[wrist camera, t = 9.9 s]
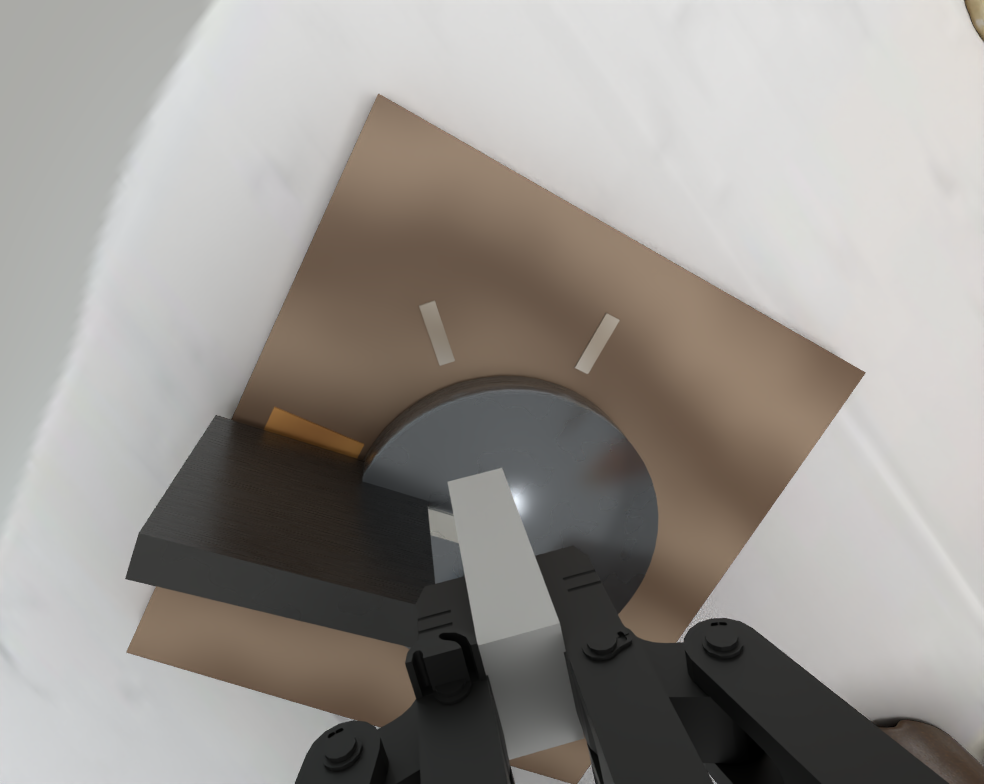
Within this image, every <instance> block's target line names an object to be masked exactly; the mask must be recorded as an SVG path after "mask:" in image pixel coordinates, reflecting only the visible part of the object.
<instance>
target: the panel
mask: <svg viewBox="0 0 984 784" xmlns="http://www.w3.org/2000/svg"><path fill="white" fill-rule="evenodd" d="M864 374H865V372H864V371H862V370H860V369H858V368H857V367H855V366H853V365H851V364H850V363H848V362H846V361H844V360H843V359H841V358H839V357H837V356H836V355H834V354H832V353H830V352H829V351H827V350H825V349H823V348H822V347H820V346H818V345H817V344H815V343H813V342H811V341H810V340H808V339H806V338H804V337H803V336H801V335H799V334H797V333H796V332H794V331H792V330H790V329H789V328H787V327H785V326H783V325H782V324H780V323H778V322H776V321H775V320H773V319H771V318H769V317H768V316H766V315H764V314H762V313H761V312H759V311H757V310H755V309H754V308H752V307H750V306H748V305H747V304H745V303H743V302H741V301H740V300H738V299H736V298H734V297H733V296H731V295H729V294H727V293H726V292H724V291H722V290H720V289H719V288H717V287H715V286H714V285H712V284H710V283H708V282H707V281H705V280H703V279H701V278H700V277H698V276H696V275H694V274H693V273H691V272H689V271H687V270H686V269H684V268H682V267H680V266H679V265H677V264H675V263H673V262H672V261H670V260H668V259H666V258H665V257H663V256H661V255H659V254H658V253H656V252H654V251H652V250H651V249H649V248H647V247H645V246H644V245H642V244H640V243H638V242H637V241H635V240H633V239H631V238H630V237H628V236H626V235H624V234H623V233H621V232H619V231H617V230H616V229H614V228H612V227H611V226H609V225H607V224H605V223H604V222H602V221H600V220H598V219H597V218H595V217H593V216H591V215H590V214H588V213H586V212H584V211H583V210H581V209H579V208H577V207H576V206H574V205H572V204H570V203H569V202H567V201H565V200H563V199H562V198H560V197H558V196H556V195H555V194H553V193H551V192H549V191H548V190H546V189H544V188H542V187H541V186H539V185H537V184H535V183H534V182H532V181H530V180H528V179H527V178H525V177H523V176H521V175H520V174H518V173H516V172H514V171H513V170H511V169H509V168H508V167H506V166H504V165H502V164H501V163H499V162H497V161H495V160H494V159H492V158H490V157H488V156H487V155H485V154H483V153H481V152H480V151H478V150H476V149H474V148H473V147H471V146H469V145H467V144H466V143H464V142H462V141H460V140H459V139H457V138H455V137H453V136H452V135H450V134H448V133H446V132H445V131H443V130H441V129H439V128H438V127H436V126H434V125H432V124H431V123H429V122H427V121H425V120H424V119H422V118H420V117H418V116H417V115H415V114H413V113H412V112H410V111H408V110H406V109H405V108H403V107H401V106H399V105H398V104H396V103H394V102H392V101H391V100H389V99H387V98H385V97H384V96H382V95H380V94H378V96H377V98H376V100H375V102H374V104H373V107H372V109H371V111H370V113H369V115H368V118H367V120H366V122H365V124H364V127H363V129H362V131H361V133H360V135H359V138H358V140H357V142H356V144H355V146H354V149H353V151H352V153H351V155H350V158H349V160H348V162H347V164H346V166H345V169H344V171H343V173H342V175H341V178H340V180H339V182H338V184H337V186H336V189H335V191H334V193H333V195H332V197H331V200H330V202H329V204H328V206H327V209H326V211H325V213H324V215H323V217H322V220H321V222H320V224H319V226H318V229H317V231H316V233H315V235H314V237H313V240H312V242H311V244H310V246H309V248H308V251H307V253H306V255H305V257H304V260H303V262H302V264H301V266H300V268H299V271H298V273H297V275H296V277H295V279H294V282H293V284H292V286H291V288H290V291H289V293H288V295H287V297H286V299H285V302H284V304H283V306H282V308H281V311H280V313H279V315H278V317H277V319H276V322H275V324H274V326H273V328H272V330H271V333H270V335H269V337H268V339H267V342H266V344H265V346H264V348H263V350H262V353H261V355H260V357H259V359H258V361H257V364H256V366H255V368H254V370H253V373H252V375H251V377H250V379H249V381H248V384H247V386H246V388H245V390H244V393H243V395H242V397H241V399H240V401H239V404H238V406H237V408H236V410H235V412H234V415H233V417H232V419H231V420H234V421H237V422H240V423H243V424H247V425H250V426H253V427H256V428H260V429H263V430H266V431H269V432H273V433H276V434H279V435H282V436H286V437H289V438H292V439H295V440H299V441H302V442H305V443H308V444H312V445H315V446H318V447H321V448H325V449H328V450H331V451H334V452H338V453H341V454H344V455H347V456H351V457H354V458H357V459H360V460H364V458H365V456H366V454H367V453H368V451H369V449H370V448H371V446H372V445H373V443H374V442H375V440H376V439H377V438H378V437H379V435H380V434H381V433H382V432H383V431H384V430H385V429H386V427H387V426H388V425H389V424H390V423H391V422H392V421H393V420H395V419H396V418H397V417H398V416H399V415H400V414H401V413H403V412H404V411H405V410H406V409H408V408H409V407H411V406H412V405H414V404H415V403H417V402H418V401H420V400H421V399H423V398H425V397H427V396H429V395H431V394H433V393H435V392H437V391H439V390H441V389H444V388H446V387H449V386H452V385H455V384H457V383H461V382H465V381H469V380H474V379H478V378H485V377H495V376H521V377H528V378H534V379H541V380H544V381H548V382H551V383H554V384H558V385H561V386H563V387H565V388H567V389H570V390H572V391H574V392H576V393H578V394H580V395H581V396H583V397H585V398H586V399H588V400H589V401H591V402H593V403H594V404H595V405H596V406H597V407H599V408H600V409H601V410H602V411H603V412H604V413H606V414H607V415H608V417H609V418H610V419H611V420H612V421H613V422H614V423H615V424H616V426H617V427H618V428H619V429H620V430H621V432H622V433H623V434H624V435H625V437H626V438H627V439H628V440H629V442H630V443H631V444H632V445H633V447H634V448H635V449H636V451H637V452H638V454H639V456H640V457H641V459H642V460H643V462H644V463H645V466H646V468H647V470H648V472H649V475H650V477H651V479H652V482H653V486H654V490H655V493H656V497H657V506H658V534H657V540H656V546H655V550H654V553H653V556H652V560H651V563H650V566H649V568H648V570H647V572H646V574H645V577H644V579H643V581H642V583H641V584H640V586H639V587H638V589H637V591H636V592H635V594H634V595H633V597H632V598H631V599H630V601H629V602H628V603H627V604H626V606H625V607H624V608H623V609H622V611H621V612H620V613H619V614H618V616H619V618H620V620H621V621H622V623H623V625H624V626H625V627H627V628H629V629H630V630H631V631H632V632H633V633H634V634H635V635H636V636H637V637H639V638H641V639H643V640H647V641H651V642H658V643H676V642H677V641H678V639H679V638H680V636H681V635H682V634H683V632H684V631H685V629H686V628H687V627H688V625H689V624H690V622H691V621H692V619H693V618H694V617H695V615H696V614H697V612H698V611H699V609H700V608H701V607H702V605H703V604H704V602H705V601H706V599H707V598H708V597H709V595H710V594H711V592H712V591H713V589H714V588H715V587H716V585H717V584H718V582H719V581H720V580H721V578H722V577H723V575H724V574H725V572H726V571H727V570H728V568H729V567H730V565H731V564H732V562H733V561H734V560H735V558H736V557H737V555H738V554H739V552H740V551H741V550H742V548H743V547H744V545H745V544H746V543H747V541H748V540H749V538H750V537H751V535H752V534H753V533H754V531H755V530H756V528H757V527H758V525H759V524H760V523H761V521H762V520H763V518H764V517H765V515H766V514H767V513H768V511H769V510H770V508H771V507H772V505H773V504H774V503H775V501H776V500H777V498H778V497H779V496H780V494H781V493H782V491H783V490H784V488H785V487H786V486H787V484H788V483H789V481H790V480H791V478H792V477H793V476H794V474H795V473H796V471H797V470H798V468H799V467H800V466H801V464H802V463H803V461H804V460H805V458H806V457H807V456H808V454H809V453H810V451H811V450H812V449H813V447H814V446H815V444H816V443H817V441H818V440H819V439H820V437H821V436H822V434H823V433H824V431H825V430H826V429H827V427H828V426H829V424H830V423H831V421H832V420H833V419H834V417H835V416H836V414H837V413H838V411H839V410H840V409H841V407H842V406H843V404H844V403H845V402H846V400H847V399H848V397H849V396H850V394H851V393H852V392H853V390H854V389H855V387H856V386H857V384H858V383H859V382H860V380H861V379H862V377H863V376H864ZM409 650H410V649H408V648H407V647H405V646H402V645H398V644H394V643H389V642H385V641H381V640H377V639H373V638H369V637H365V636H360V635H356V634H352V633H348V632H344V631H340V630H335V629H331V628H327V627H323V626H319V625H315V624H311V623H306V622H302V621H298V620H294V619H290V618H286V617H281V616H277V615H273V614H269V613H265V612H261V611H257V610H252V609H248V608H244V607H240V606H236V605H232V604H227V603H223V602H219V601H215V600H211V599H207V598H203V597H198V596H194V595H190V594H186V593H182V592H178V591H173V590H169V589H165V588H161V587H157V586H156V588H155V590H154V592H153V594H152V596H151V599H150V601H149V603H148V605H147V608H146V610H145V612H144V614H143V616H142V619H141V621H140V623H139V625H138V627H137V630H136V632H135V634H134V636H133V639H132V641H131V643H130V645H129V647H128V650H127V653H130V654H133V655H137V656H140V657H144V658H147V659H150V660H154V661H157V662H161V663H164V664H167V665H171V666H174V667H178V668H181V669H184V670H188V671H191V672H194V673H198V674H201V675H205V676H208V677H211V678H215V679H218V680H222V681H225V682H228V683H232V684H235V685H239V686H242V687H245V688H249V689H252V690H255V691H259V692H262V693H266V694H269V695H272V696H276V697H279V698H283V699H286V700H289V701H293V702H296V703H300V704H303V705H306V706H310V707H313V708H317V709H320V710H323V711H327V712H330V713H333V714H337V715H340V716H344V717H347V718H350V719H354V720H357V721H366V722H368V723H369V724H371V725H374V726H378V727H383V726H385V725H386V724H388V723H390V722H392V721H393V720H395V719H396V718H398V717H399V716H401V715H402V714H403V713H404V712H405V711H406V710H407V709H408V708H410V707H411V705H412V704H413V702H414V701H415V700H416V697H415V694H414V691H413V688H412V684H411V681H410V678H409V675H408V672H407V669H406V665H405V660H406V656H407V652H408V651H409ZM583 734H584V732H583ZM509 762H510V766H513V767H517V768H520V769H523V770H527V771H530V772H534V773H537V774H540V775H544V776H547V777H551V778H554V779H557V780H561V781H564V782H567V783H571V784H577V783H578V782H579V780H580V779H581V777H582V776H583V775H584V773H585V772H586V770H587V769H588V768H589V766H590V765H591V760H590V755H589V751H588V746H587V741H586V738H585V735H584V739H581V740H577V741H574V742H570V743H567V744H563V745H560V746H556V747H553V748H549V749H546V750H542V751H539V752H535V753H532V754H528V755H525V756H521V757H518V758H514V759H511V760H509Z"/></svg>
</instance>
